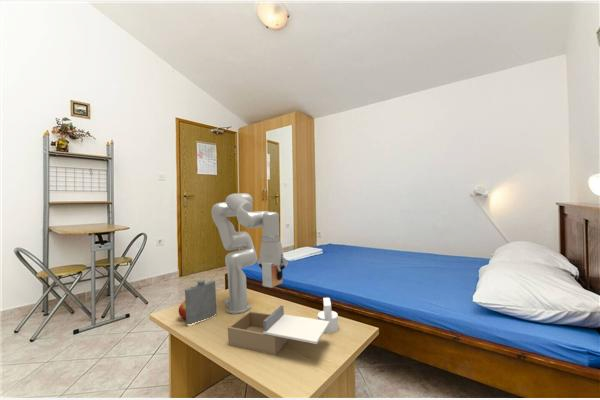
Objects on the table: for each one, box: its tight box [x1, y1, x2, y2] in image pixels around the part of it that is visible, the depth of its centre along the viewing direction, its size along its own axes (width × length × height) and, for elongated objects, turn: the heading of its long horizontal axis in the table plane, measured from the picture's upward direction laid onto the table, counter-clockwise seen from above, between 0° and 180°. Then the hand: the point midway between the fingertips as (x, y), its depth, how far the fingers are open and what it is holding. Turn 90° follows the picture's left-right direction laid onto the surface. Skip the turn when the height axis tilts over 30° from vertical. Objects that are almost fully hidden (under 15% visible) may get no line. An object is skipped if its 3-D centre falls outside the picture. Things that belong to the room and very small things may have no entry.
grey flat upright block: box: [184, 279, 218, 325], centre depth 132 cm, size 16×4×20 cm, turn 140°
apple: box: [178, 301, 186, 319], centre depth 135 cm, size 8×8×10 cm
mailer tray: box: [227, 310, 289, 355], centre depth 112 cm, size 22×16×7 cm
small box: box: [261, 263, 284, 289], centre depth 119 cm, size 8×6×10 cm
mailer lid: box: [263, 305, 330, 345], centre depth 105 cm, size 22×16×5 cm
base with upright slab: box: [317, 297, 339, 334], centre depth 119 cm, size 9×9×12 cm
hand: (272, 278), depth 119 cm, fingers closed on small box, 6 cm apart
